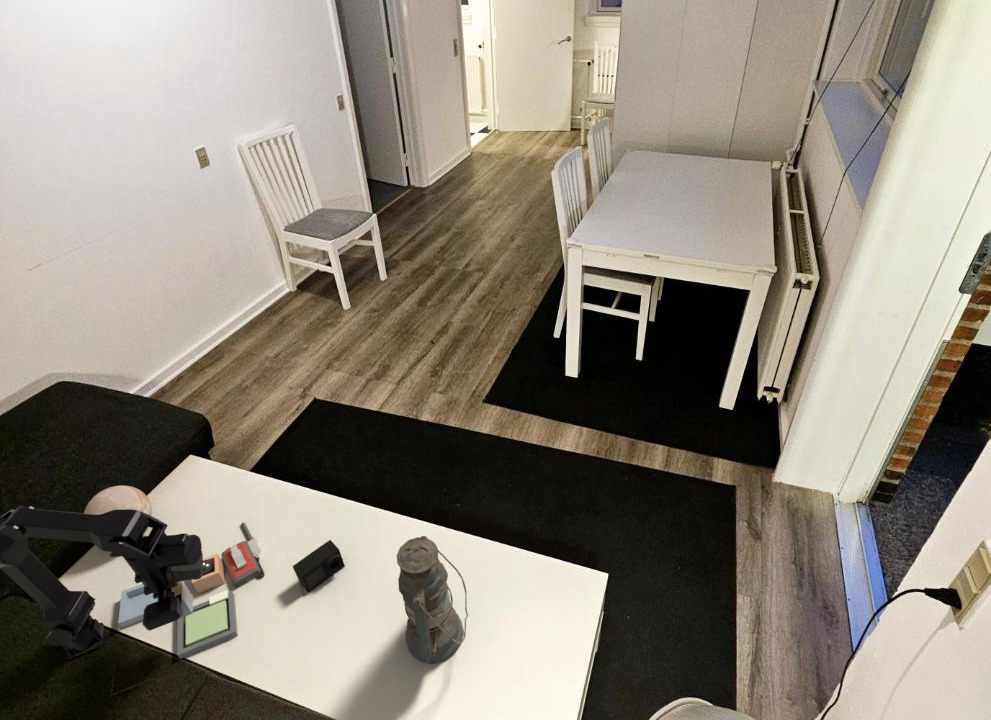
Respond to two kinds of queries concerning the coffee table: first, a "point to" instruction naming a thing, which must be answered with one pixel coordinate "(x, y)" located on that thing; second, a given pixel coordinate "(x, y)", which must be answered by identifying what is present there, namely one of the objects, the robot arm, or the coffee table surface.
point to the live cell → (184, 598)
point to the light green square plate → (206, 623)
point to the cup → (211, 575)
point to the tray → (133, 605)
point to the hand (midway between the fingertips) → (179, 606)
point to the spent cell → (207, 567)
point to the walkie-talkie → (243, 560)
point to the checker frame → (213, 640)
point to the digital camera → (319, 566)
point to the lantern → (428, 602)
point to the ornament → (119, 500)
